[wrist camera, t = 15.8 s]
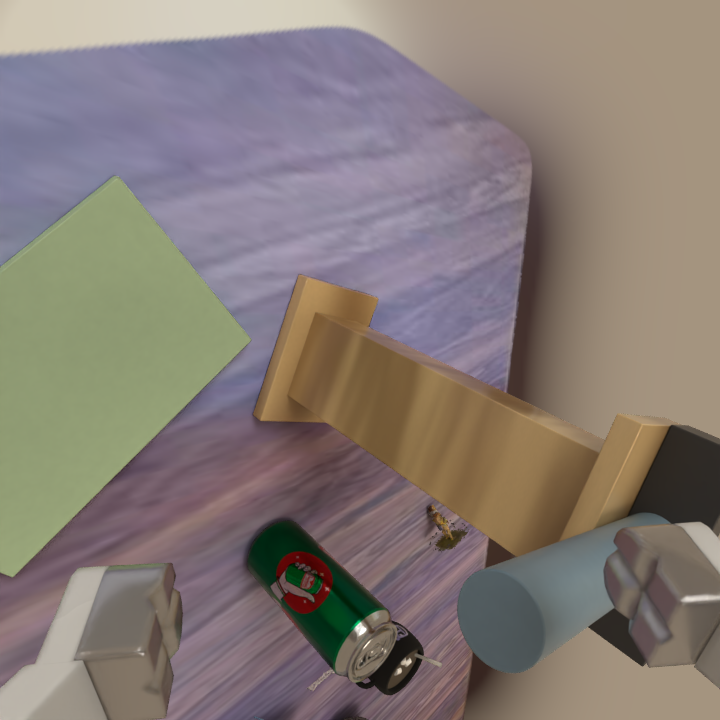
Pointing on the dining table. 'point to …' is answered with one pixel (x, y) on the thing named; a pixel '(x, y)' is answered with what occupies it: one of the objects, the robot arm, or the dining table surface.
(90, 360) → the mat
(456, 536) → the soldier figurine
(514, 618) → the hammer
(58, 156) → the dining table surface
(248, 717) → the dining table surface
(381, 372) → the stand
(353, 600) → the soda can
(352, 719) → the lollipop
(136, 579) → the robot arm
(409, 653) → the mug
